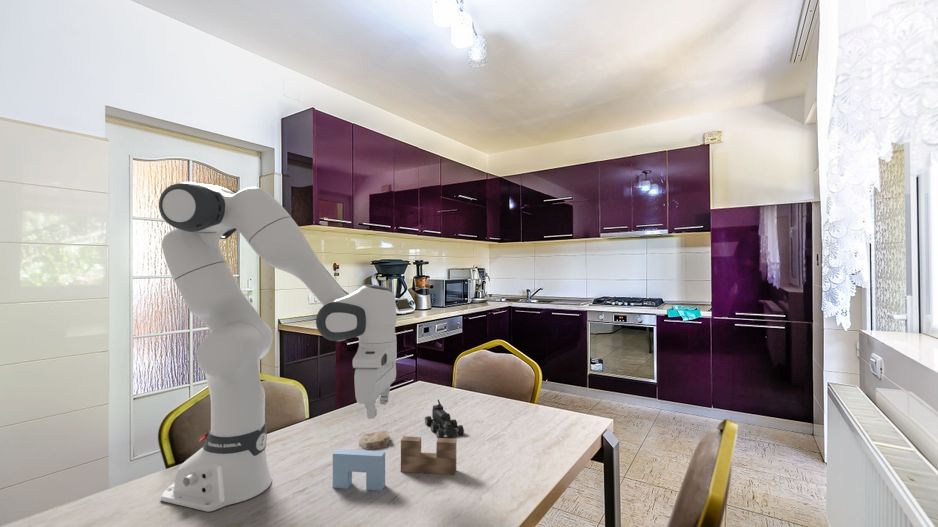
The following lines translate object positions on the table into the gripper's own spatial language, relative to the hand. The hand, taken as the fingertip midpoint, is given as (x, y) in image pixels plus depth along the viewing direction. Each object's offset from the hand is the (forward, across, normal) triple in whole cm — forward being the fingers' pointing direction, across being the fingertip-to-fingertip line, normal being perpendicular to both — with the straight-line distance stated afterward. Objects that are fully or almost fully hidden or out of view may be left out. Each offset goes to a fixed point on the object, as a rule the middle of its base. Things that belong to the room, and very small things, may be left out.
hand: (378, 410), depth 96 cm
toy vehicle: (+19, -35, +10) cm, 41 cm away
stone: (+18, -23, -9) cm, 31 cm away
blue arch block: (+18, +1, -5) cm, 18 cm away
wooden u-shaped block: (+18, -8, +10) cm, 22 cm away
